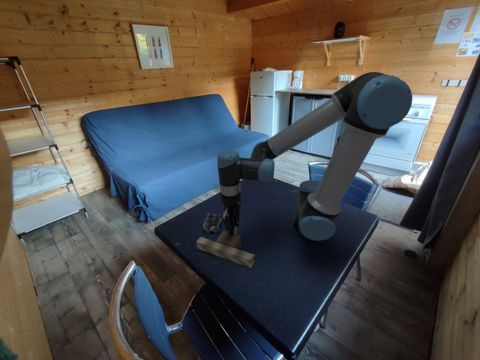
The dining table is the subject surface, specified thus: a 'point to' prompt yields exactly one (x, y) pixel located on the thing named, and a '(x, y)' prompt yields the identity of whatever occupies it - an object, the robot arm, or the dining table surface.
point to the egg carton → (213, 220)
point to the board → (225, 252)
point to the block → (229, 240)
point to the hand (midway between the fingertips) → (233, 238)
